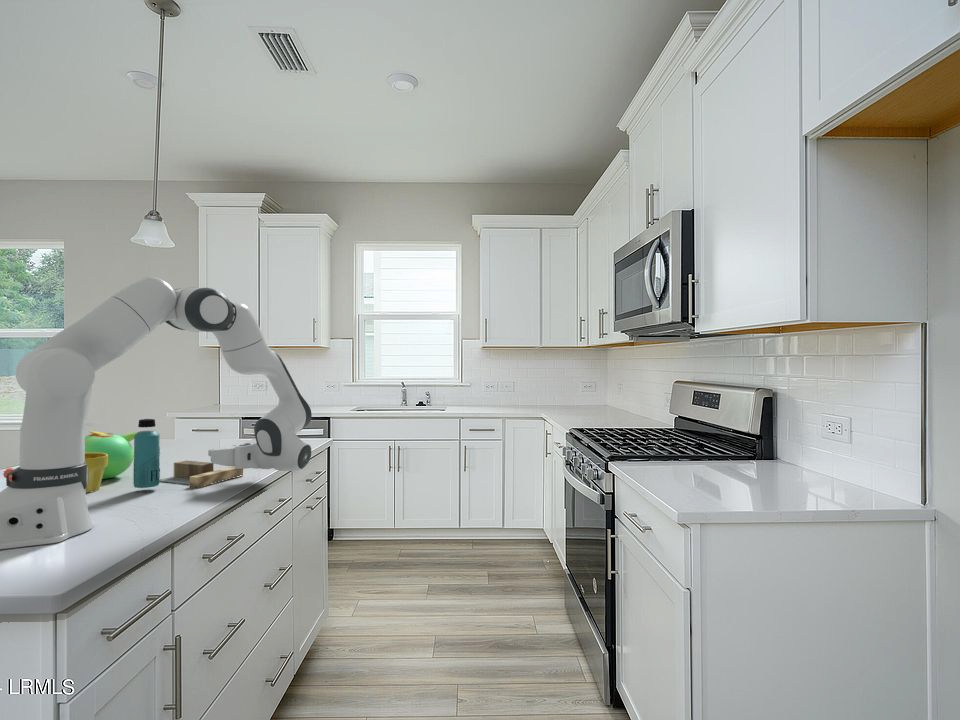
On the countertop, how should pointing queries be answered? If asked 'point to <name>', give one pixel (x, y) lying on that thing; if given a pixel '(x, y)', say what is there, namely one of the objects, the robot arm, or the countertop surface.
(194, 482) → the oak rail
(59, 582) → the countertop surface
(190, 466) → the walnut block
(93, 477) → the plant pot
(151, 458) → the beverage bottle
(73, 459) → the robot arm
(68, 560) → the countertop surface
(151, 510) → the countertop surface
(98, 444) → the green rounded body
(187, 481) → the grey mat
